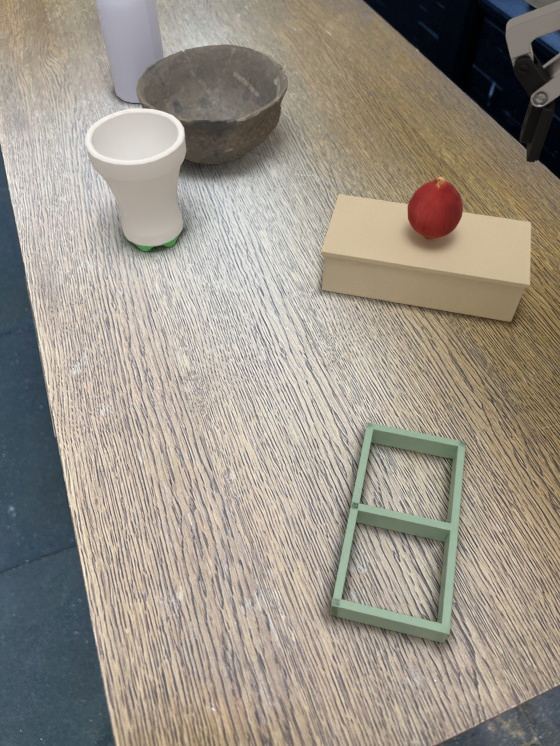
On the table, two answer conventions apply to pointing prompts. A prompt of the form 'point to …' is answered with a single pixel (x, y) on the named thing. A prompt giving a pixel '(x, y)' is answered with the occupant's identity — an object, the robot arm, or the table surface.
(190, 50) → the bowl
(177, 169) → the cup
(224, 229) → the table surface
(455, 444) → the green rectangular frame
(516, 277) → the beige rectangular box
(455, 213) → the red pomegranate
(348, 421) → the table surface
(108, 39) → the soap bottle
